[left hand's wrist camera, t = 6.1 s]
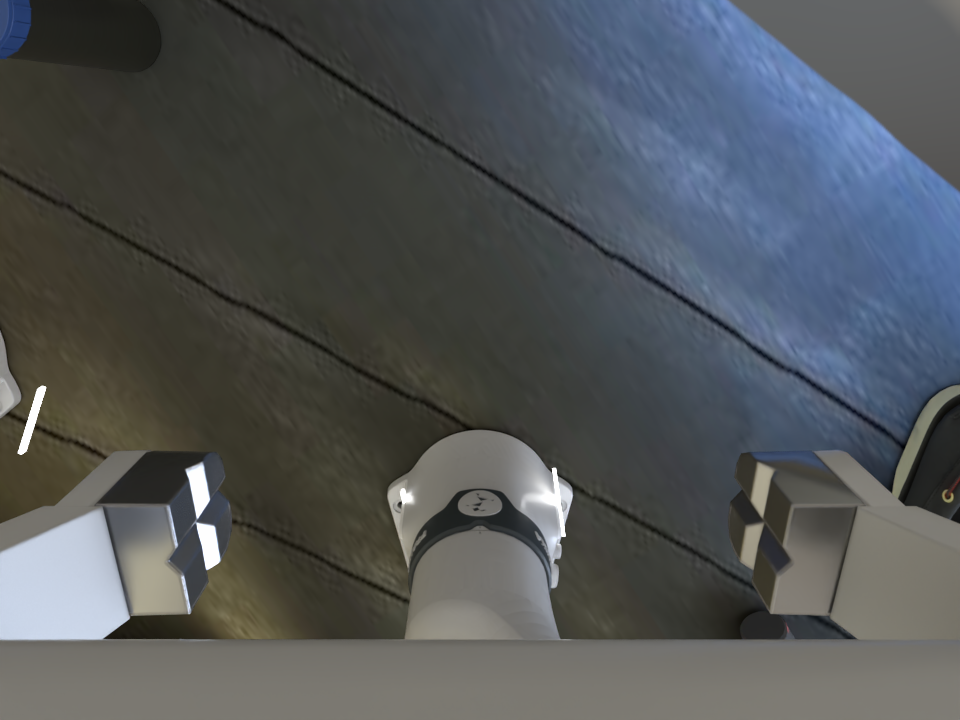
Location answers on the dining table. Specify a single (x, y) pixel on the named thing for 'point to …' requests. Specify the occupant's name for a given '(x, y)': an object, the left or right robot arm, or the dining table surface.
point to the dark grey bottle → (92, 34)
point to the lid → (13, 25)
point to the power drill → (765, 627)
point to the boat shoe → (933, 458)
